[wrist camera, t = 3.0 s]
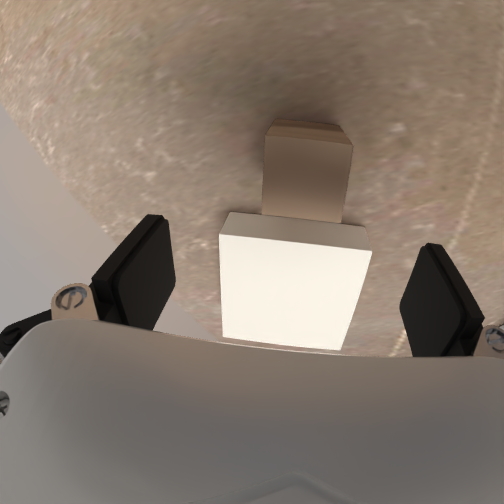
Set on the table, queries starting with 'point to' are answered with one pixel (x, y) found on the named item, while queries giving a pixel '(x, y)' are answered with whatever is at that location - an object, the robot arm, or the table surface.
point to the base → (290, 279)
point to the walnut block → (305, 170)
